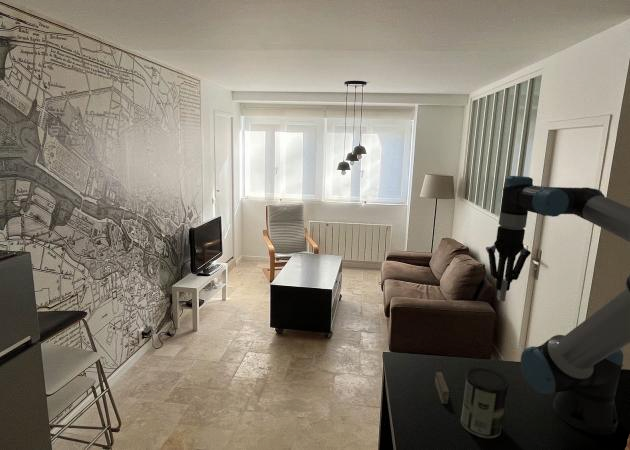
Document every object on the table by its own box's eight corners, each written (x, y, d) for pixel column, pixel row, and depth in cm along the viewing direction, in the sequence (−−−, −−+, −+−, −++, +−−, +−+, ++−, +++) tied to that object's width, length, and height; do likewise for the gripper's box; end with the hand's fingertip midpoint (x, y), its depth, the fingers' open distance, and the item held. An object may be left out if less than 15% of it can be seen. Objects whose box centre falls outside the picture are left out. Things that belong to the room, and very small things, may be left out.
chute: (483, 387, 126) (484, 376, 125) (494, 408, 116) (496, 395, 115) (434, 383, 127) (436, 371, 126) (442, 403, 117) (443, 391, 116)
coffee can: (491, 413, 114) (498, 368, 111) (508, 439, 104) (516, 390, 101) (454, 411, 114) (460, 366, 111) (468, 438, 104) (475, 388, 101)
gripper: (528, 225, 127) (517, 296, 131) (485, 223, 127) (476, 293, 132) (539, 230, 119) (527, 305, 124) (494, 228, 120) (483, 302, 125)
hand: (500, 299), depth 128 cm, fingers closed
